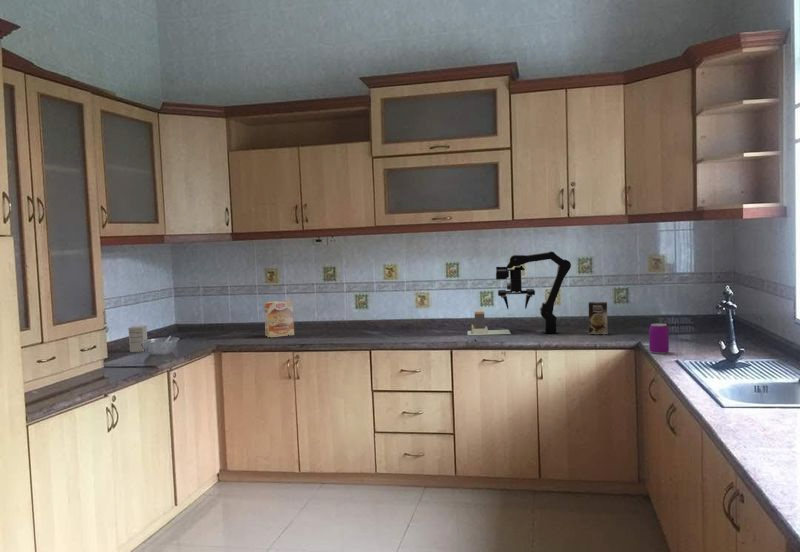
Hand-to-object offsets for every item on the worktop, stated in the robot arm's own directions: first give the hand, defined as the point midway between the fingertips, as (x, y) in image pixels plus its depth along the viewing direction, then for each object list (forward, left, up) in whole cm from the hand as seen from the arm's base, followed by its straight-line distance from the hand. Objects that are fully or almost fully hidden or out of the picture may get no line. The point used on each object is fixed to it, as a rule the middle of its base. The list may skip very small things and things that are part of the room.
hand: (516, 308), depth 361 cm
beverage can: (-80, -27, -13) cm, 85 cm away
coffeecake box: (+65, +115, -13) cm, 133 cm away
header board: (+5, +14, -13) cm, 20 cm away
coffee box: (-23, -34, -13) cm, 43 cm away
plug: (+7, +18, -12) cm, 23 cm away
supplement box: (+53, +189, -13) cm, 197 cm away
